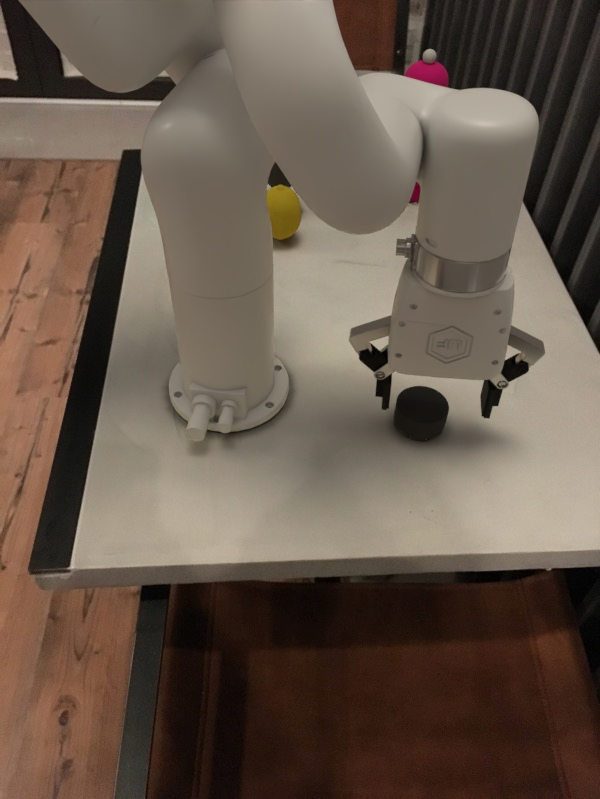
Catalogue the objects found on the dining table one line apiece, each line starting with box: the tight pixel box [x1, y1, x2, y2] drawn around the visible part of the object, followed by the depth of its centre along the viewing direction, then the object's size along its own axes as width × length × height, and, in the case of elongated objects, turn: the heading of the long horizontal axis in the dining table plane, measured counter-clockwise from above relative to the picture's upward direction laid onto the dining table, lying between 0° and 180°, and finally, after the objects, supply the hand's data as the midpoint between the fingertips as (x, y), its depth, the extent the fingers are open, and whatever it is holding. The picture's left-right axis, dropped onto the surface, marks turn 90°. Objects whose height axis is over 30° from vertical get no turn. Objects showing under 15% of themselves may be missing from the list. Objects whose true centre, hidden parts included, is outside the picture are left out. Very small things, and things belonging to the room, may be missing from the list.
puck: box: [392, 385, 450, 442], centre depth 69 cm, size 5×5×3 cm
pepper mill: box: [403, 48, 449, 203], centre depth 95 cm, size 7×7×20 cm
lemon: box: [266, 185, 302, 241], centre depth 90 cm, size 6×6×8 cm
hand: (434, 403), depth 67 cm, fingers open, 9 cm apart
